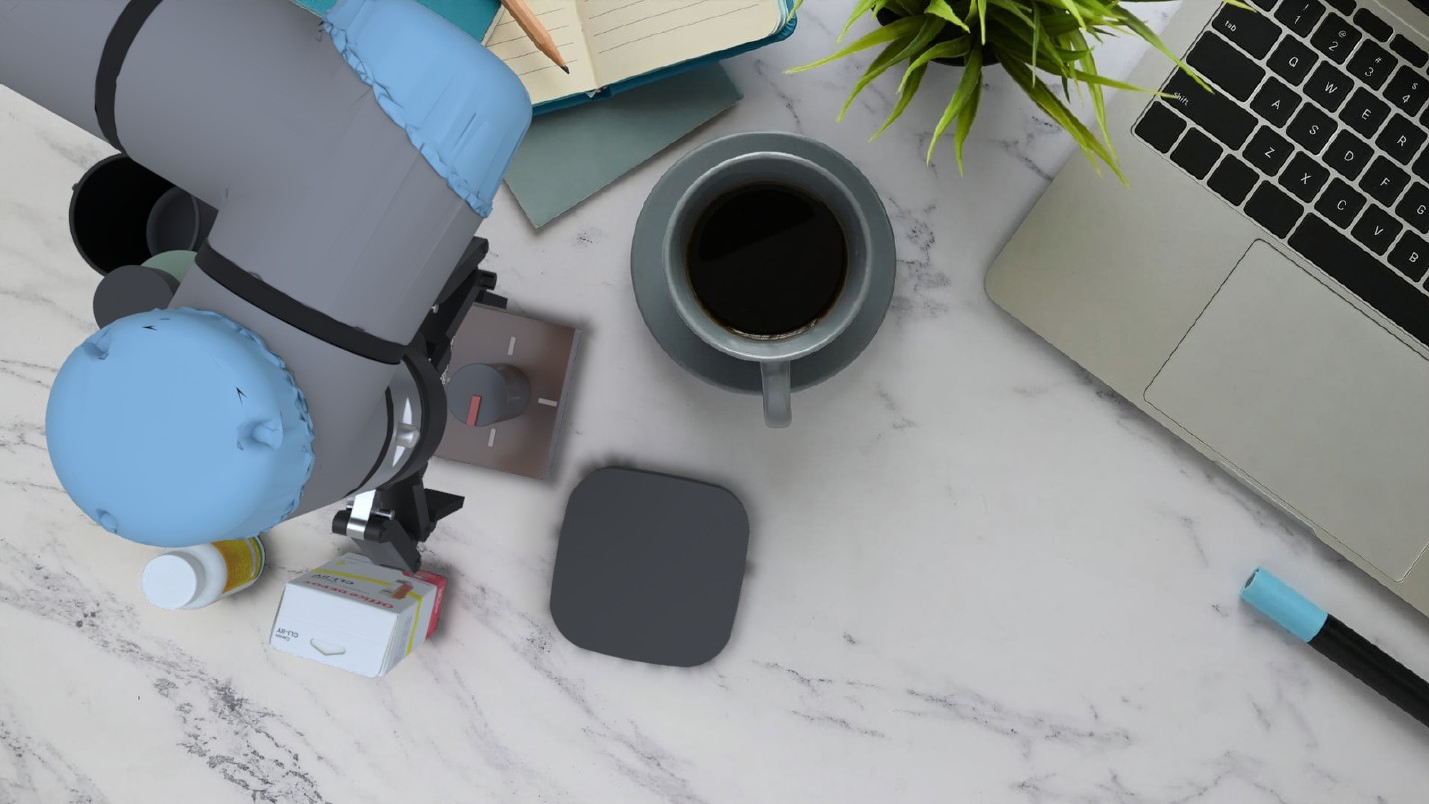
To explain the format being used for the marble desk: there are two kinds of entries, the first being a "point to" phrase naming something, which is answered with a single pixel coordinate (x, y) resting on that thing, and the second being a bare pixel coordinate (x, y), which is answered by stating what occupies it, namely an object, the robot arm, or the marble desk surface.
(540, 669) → the marble desk surface
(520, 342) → the dial panel
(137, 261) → the mug
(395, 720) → the marble desk surface
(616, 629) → the media streaming box
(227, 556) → the supplement bottle
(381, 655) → the ink box
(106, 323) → the pump head
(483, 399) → the dial
